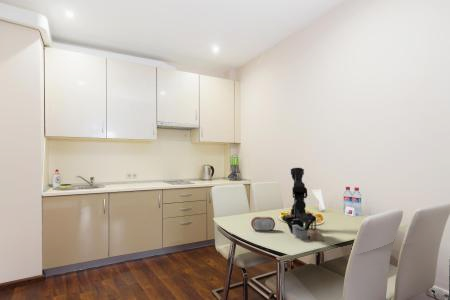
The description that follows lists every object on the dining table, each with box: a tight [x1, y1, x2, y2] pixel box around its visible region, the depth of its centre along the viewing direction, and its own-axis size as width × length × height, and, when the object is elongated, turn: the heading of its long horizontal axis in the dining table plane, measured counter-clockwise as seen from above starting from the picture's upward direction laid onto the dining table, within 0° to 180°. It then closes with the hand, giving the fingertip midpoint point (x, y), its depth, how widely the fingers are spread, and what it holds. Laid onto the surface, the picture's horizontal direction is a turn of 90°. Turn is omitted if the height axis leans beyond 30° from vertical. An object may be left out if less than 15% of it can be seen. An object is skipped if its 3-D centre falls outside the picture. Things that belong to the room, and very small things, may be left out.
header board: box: [308, 220, 325, 242], centre depth 151 cm, size 7×19×6 cm, turn 170°
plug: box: [291, 225, 309, 241], centre depth 149 cm, size 4×12×5 cm, turn 13°
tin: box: [250, 216, 276, 232], centre depth 160 cm, size 15×3×8 cm, turn 92°
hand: (299, 232), depth 149 cm, fingers open, 9 cm apart
